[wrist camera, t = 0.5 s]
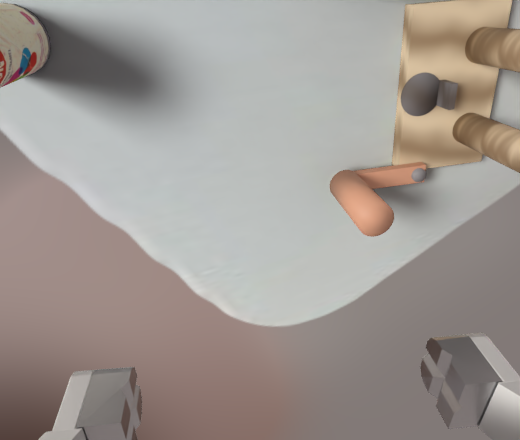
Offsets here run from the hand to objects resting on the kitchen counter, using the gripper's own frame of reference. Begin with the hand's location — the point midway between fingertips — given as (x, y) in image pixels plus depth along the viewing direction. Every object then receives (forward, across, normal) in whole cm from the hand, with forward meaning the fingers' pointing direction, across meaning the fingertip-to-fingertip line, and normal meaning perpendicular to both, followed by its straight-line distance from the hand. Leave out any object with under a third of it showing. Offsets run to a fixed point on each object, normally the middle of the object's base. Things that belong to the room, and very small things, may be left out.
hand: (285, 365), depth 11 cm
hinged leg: (+40, -19, +14) cm, 46 cm away
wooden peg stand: (+43, -28, +3) cm, 51 cm away
